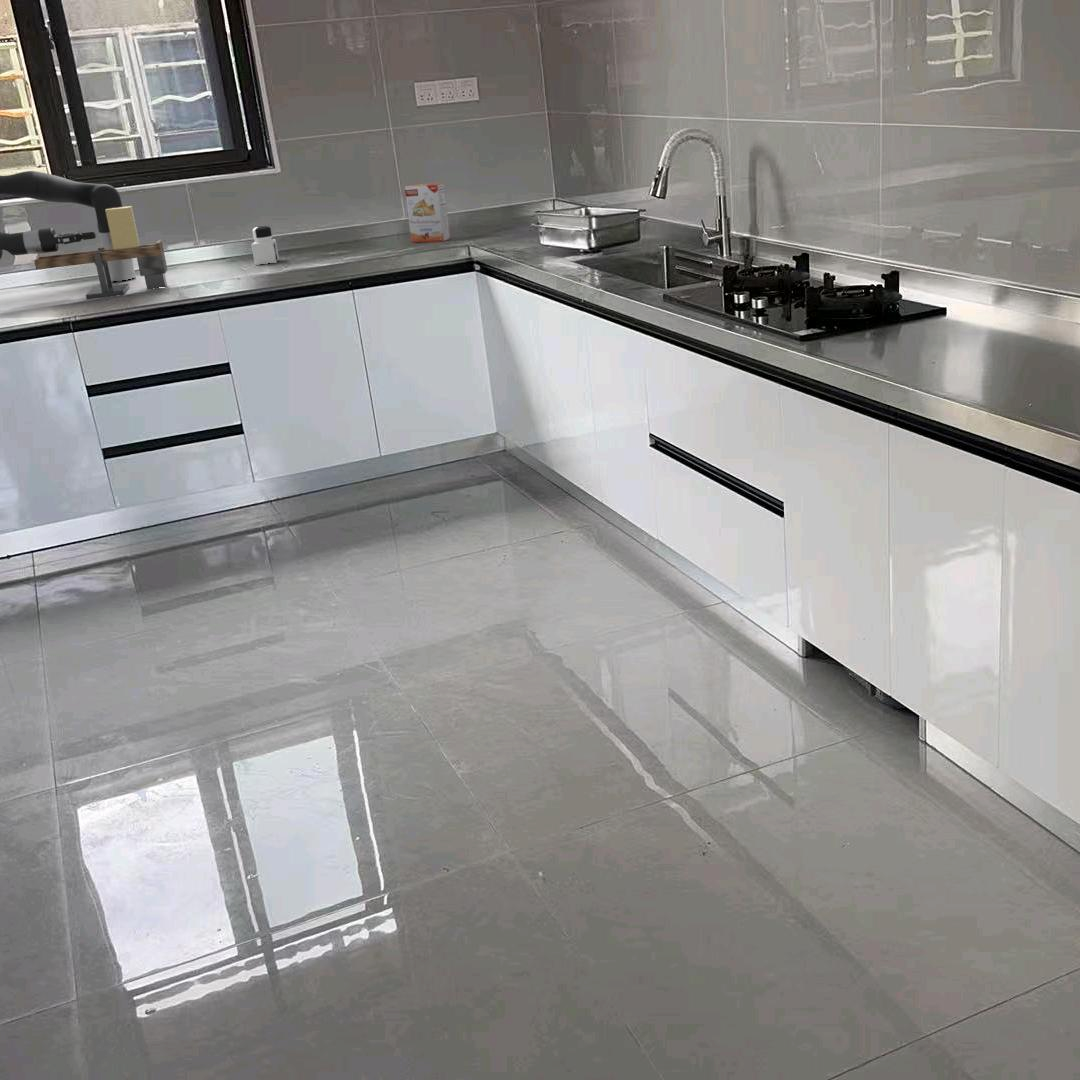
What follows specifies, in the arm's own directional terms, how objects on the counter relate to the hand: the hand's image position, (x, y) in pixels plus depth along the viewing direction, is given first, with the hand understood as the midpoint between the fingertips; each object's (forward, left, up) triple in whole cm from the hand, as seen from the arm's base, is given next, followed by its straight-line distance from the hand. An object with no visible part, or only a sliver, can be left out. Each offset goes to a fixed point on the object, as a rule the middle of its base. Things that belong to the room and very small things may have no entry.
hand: (95, 234), depth 399 cm
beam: (0, 0, -14) cm, 14 cm away
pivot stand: (+6, +4, -19) cm, 20 cm away
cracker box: (+80, +89, -20) cm, 121 cm away
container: (+30, +53, -20) cm, 64 cm away
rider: (+7, +5, -6) cm, 11 cm away
